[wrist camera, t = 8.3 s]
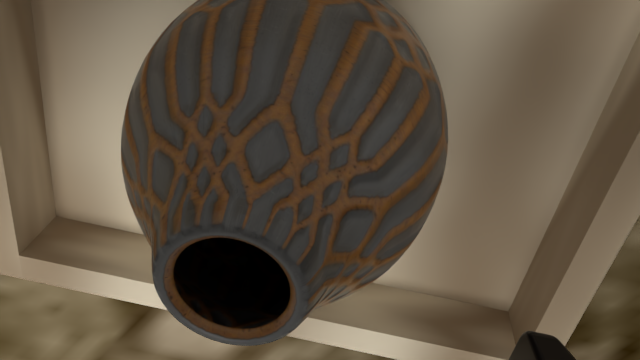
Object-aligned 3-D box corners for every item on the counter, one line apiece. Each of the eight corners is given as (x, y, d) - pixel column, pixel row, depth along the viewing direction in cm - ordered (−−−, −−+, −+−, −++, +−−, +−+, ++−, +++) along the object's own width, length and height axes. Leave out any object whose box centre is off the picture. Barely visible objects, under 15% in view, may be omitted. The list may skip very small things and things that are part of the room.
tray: (786, -211, 12) (892, -227, 9) (523, 321, 20) (539, 390, 18) (-33, -358, 12) (-147, -411, 10) (44, 220, 21) (-7, 272, 18)
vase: (292, -119, 13) (145, -70, 6) (494, 70, 15) (582, 298, 7) (150, 85, 16) (-63, 285, 9) (328, 221, 18) (273, 485, 11)
